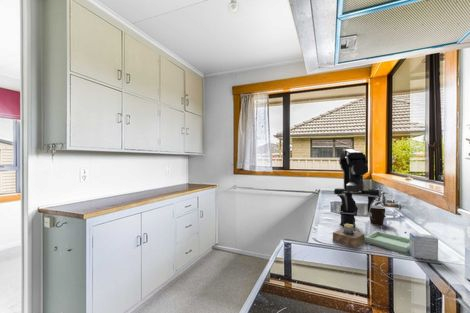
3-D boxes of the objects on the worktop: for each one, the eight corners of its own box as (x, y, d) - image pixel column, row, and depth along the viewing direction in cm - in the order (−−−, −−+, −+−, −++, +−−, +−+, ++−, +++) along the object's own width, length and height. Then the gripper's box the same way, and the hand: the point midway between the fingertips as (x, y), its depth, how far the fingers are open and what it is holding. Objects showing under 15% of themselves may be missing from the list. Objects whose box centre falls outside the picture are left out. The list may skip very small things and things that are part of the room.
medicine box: (432, 256, 91) (432, 234, 91) (438, 261, 86) (438, 238, 86) (409, 253, 93) (409, 232, 93) (413, 258, 89) (413, 236, 89)
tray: (364, 242, 105) (364, 236, 105) (376, 235, 114) (376, 230, 114) (406, 254, 93) (406, 247, 92) (415, 245, 101) (415, 240, 101)
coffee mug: (368, 220, 140) (368, 204, 140) (384, 223, 135) (384, 206, 135) (368, 225, 129) (368, 208, 129) (386, 228, 125) (386, 210, 125)
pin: (343, 241, 106) (343, 224, 106) (346, 239, 108) (346, 223, 108) (350, 243, 104) (350, 225, 104) (353, 241, 106) (353, 224, 106)
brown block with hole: (332, 240, 107) (332, 232, 107) (342, 236, 113) (343, 228, 113) (354, 247, 99) (354, 238, 99) (364, 242, 105) (364, 233, 105)
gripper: (330, 175, 107) (330, 209, 105) (375, 175, 95) (377, 213, 92) (337, 178, 116) (338, 209, 113) (380, 178, 103) (382, 213, 101)
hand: (357, 211), depth 105 cm, fingers open, 9 cm apart
